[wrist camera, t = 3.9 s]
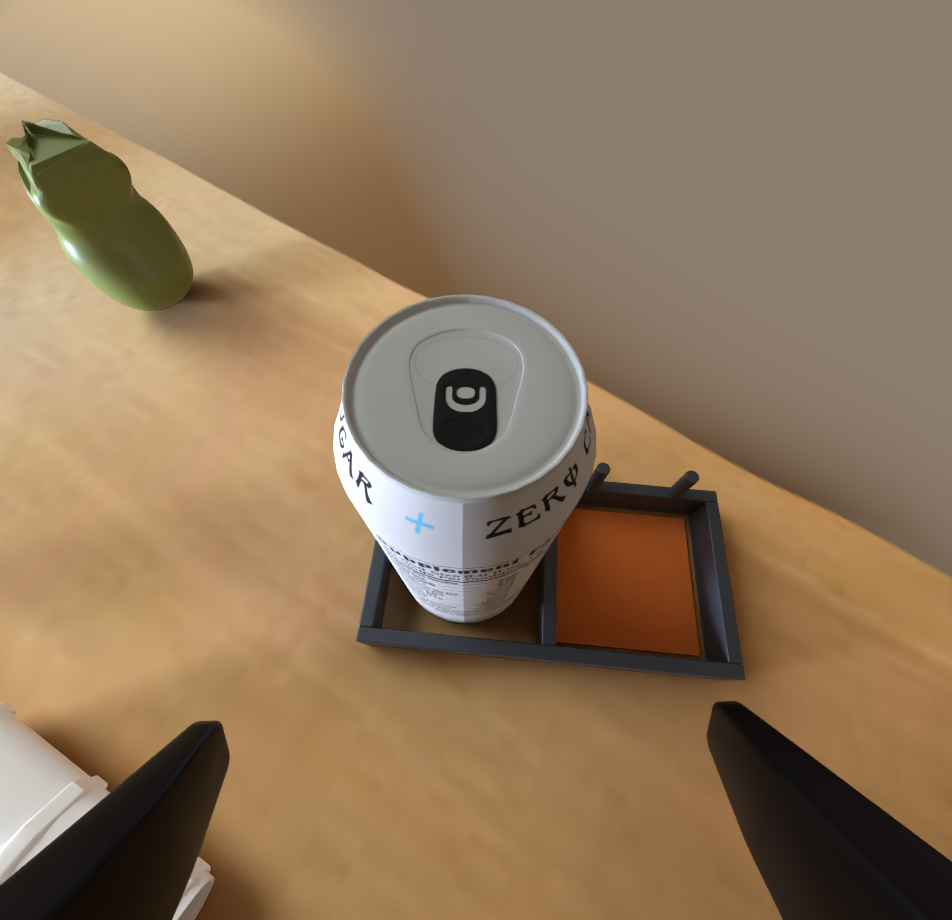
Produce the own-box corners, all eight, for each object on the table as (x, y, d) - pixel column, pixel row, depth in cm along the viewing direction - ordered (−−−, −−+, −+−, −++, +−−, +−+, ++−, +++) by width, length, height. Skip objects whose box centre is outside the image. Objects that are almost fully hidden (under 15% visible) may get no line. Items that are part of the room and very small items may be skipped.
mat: (698, 656, 21) (700, 656, 20) (555, 642, 21) (555, 641, 21) (682, 519, 23) (684, 518, 23) (556, 507, 24) (557, 506, 23)
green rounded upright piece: (177, 255, 31) (60, 85, 22) (226, 291, 30) (122, 124, 21) (104, 301, 29) (-57, 134, 20) (153, 342, 28) (4, 182, 19)
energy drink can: (523, 505, 24) (601, 277, 10) (528, 627, 21) (641, 537, 7) (409, 503, 24) (334, 270, 10) (399, 624, 21) (280, 530, 7)
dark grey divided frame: (721, 679, 20) (776, 680, 17) (365, 644, 21) (343, 637, 17) (697, 505, 24) (738, 474, 20) (396, 477, 24) (383, 442, 21)
